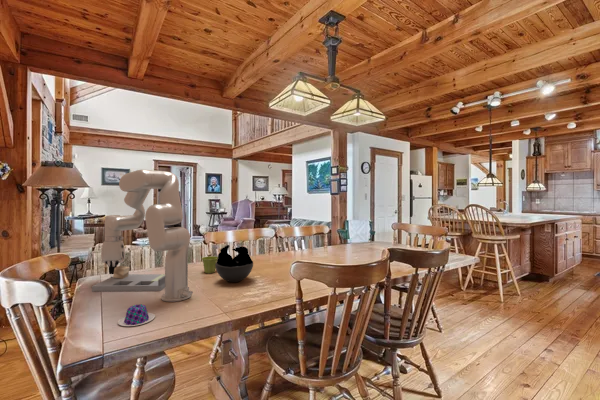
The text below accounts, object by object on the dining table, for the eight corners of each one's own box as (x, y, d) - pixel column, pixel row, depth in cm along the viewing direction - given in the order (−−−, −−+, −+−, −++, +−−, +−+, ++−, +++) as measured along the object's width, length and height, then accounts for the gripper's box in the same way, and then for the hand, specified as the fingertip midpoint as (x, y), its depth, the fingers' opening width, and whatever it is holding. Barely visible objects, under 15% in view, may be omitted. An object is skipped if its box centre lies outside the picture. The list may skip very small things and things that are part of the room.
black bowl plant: (257, 284, 154) (257, 248, 154) (217, 288, 147) (217, 250, 146) (249, 274, 173) (249, 242, 172) (213, 278, 165) (213, 244, 165)
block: (128, 276, 159) (129, 267, 159) (122, 278, 154) (124, 269, 154) (118, 274, 159) (120, 265, 159) (113, 277, 154) (114, 267, 154)
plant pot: (201, 270, 181) (201, 256, 181) (217, 269, 184) (217, 255, 184) (201, 274, 172) (201, 259, 172) (218, 273, 175) (218, 259, 175)
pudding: (160, 320, 110) (160, 306, 110) (123, 331, 101) (123, 316, 101) (148, 311, 118) (148, 298, 118) (113, 321, 109) (113, 306, 109)
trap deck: (176, 278, 164) (176, 268, 164) (160, 290, 143) (160, 279, 143) (117, 278, 162) (117, 268, 162) (91, 291, 141) (91, 279, 141)
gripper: (131, 238, 160) (130, 271, 160) (102, 237, 159) (102, 271, 159) (123, 240, 152) (123, 275, 153) (93, 239, 151) (93, 275, 152)
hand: (112, 273), depth 156 cm, fingers closed
